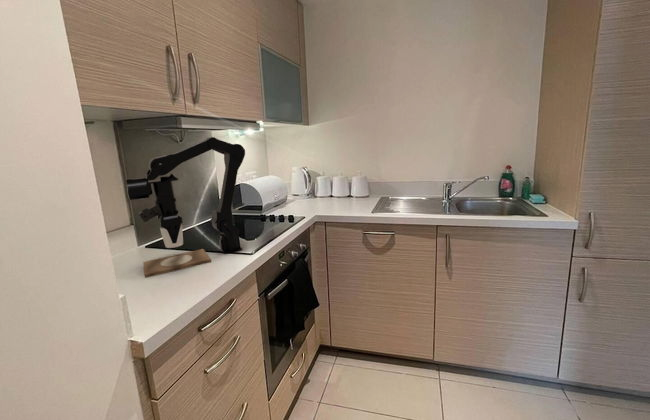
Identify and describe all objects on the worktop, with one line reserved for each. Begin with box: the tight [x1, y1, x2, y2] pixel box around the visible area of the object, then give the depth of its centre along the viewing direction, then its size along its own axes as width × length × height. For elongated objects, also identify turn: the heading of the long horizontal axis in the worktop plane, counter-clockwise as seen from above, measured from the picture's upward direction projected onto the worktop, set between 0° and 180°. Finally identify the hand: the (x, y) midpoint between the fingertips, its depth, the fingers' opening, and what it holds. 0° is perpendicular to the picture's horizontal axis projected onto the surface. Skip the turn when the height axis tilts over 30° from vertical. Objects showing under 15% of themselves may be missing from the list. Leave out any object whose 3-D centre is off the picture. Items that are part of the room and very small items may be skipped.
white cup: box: [159, 223, 184, 249], centre depth 110 cm, size 7×7×7 cm
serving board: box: [142, 248, 212, 279], centre depth 112 cm, size 20×14×1 cm
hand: (173, 240), depth 110 cm, fingers closed on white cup, 6 cm apart
